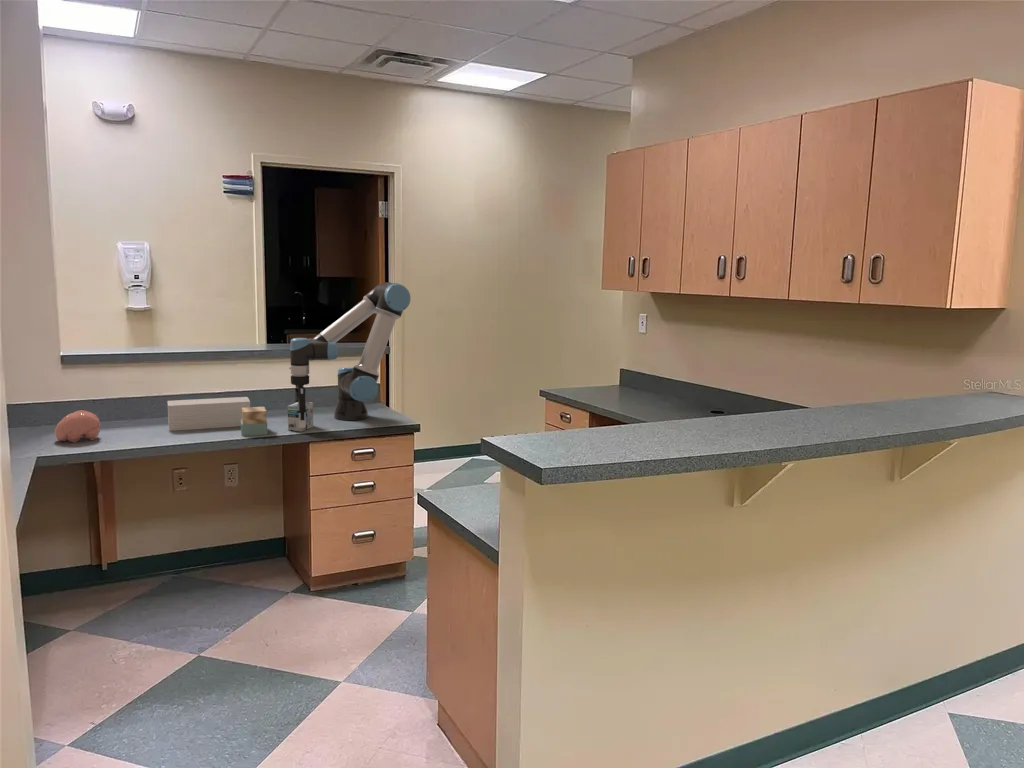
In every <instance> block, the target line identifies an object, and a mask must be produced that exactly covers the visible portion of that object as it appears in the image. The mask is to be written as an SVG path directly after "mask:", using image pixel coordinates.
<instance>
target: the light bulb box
mask: <svg viewBox="0 0 1024 768" xmlns="http://www.w3.org/2000/svg"><path fill="white" fill-rule="evenodd" d="M305 403H306V428H299V413H297V411H299V404H298V402H296V403H295V402H294V403H291V404H289V405H287V430H288V431H291V430H293V431H294V432H304V431H306V429H307V430H308V429H310V428H314V402H312V401H311V402H310V401H305Z"/></svg>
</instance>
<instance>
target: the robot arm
mask: <svg viewBox="0 0 1024 768" xmlns="http://www.w3.org/2000/svg"><path fill="white" fill-rule="evenodd" d="M410 304H411V294H410V291H409V289H408V288H407V287H406V286H405V285H403V284H401V283H397V282H389V281H388V282H387V281H386V282H382V283H379V284H377V285H376V286H375V287H374V288H373V289H371V290H370V291H369V292H368V293H367V294H364V296H363V298H362V300H361V301H359V302H357V304H356V305H354V306H353V307H352V308H351V309H349V310H348V311H346V312H345V313H344V314H343V315H342V316H340V317H339V318H338V319H337V320H335V321H334V322H332V323H331V324H330V325H328V326H327V327H326V328H325V329H324V330H322V331H321V332H320V333H318V334H316V336H314V337H310V338H307V337H294V338H292V339H290V344H289V345H290V346H289V351H290V353H289V354H290V366H289V368H288V369H289V370H290V384H291V385H294V386H295V387H294V393H295V395H294V397H295V399H294V403H296V402H298V404H299V411H297V413H299V428H306V403H305V402H306V388H305V387H304V386H306V385H309V384H310V362H311V361H331V360H332V361H333V360H334V361H335V360H336V359H337V358H338V356H339V348H338V345H337V343H338V341H339V340H342V338H344V337H345V336H346V335H348V333H350V332H351V331H353V330H354V329H355V328H357V327H358V326H360V324H361V323H363V322H365V321H366V320H367V319H368V318H370V316H372V315H373V314H376V316H375V318H374V321H373V324H372V326H371V329H370V332H369V335H368V338H367V339H366V342H365V346H364V348H363V351H362V354H361V357H360V360H359V362H358V363H357V364H355V365H354V366H353V367H340V368H338V370H337V376H336V377H337V403H336V405H335V406H336V407H335V409H334V413H333V415H334V416H333V417H334V418H335V419H337V420H341V421H361V420H364V419H367V418H368V416H369V412H368V409H367V405H366V403H365V402H368V401H371V400H372V399H373V398H375V396H376V395H377V393H378V389H379V388H378V386H379V385H378V379H379V377H380V373H379V372H378V369H379V366H380V364H381V361H382V358H383V356H384V353H385V351H386V348H387V345H388V342H389V339H390V337H391V335H392V331H393V330H394V329H393V328H394V326H395V324H396V322H397V321H396V320H398V319H400V318H401V317H402V314H403V313H404V311H405V310H406V309H407V308H408V307H409V306H410Z"/></svg>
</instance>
